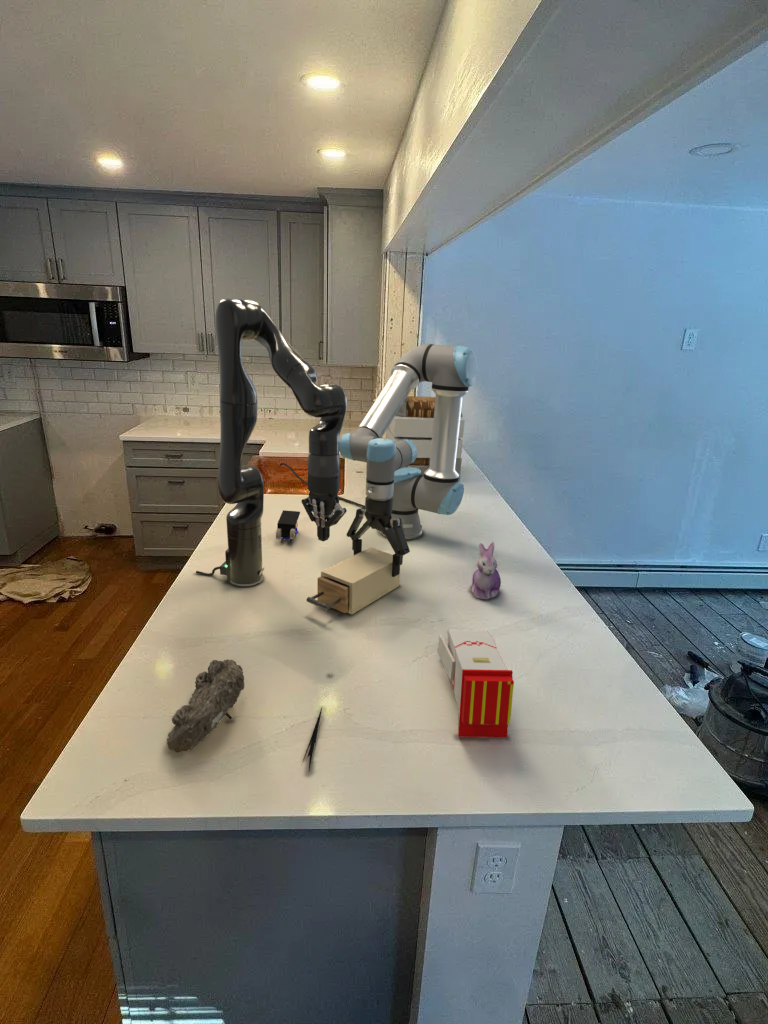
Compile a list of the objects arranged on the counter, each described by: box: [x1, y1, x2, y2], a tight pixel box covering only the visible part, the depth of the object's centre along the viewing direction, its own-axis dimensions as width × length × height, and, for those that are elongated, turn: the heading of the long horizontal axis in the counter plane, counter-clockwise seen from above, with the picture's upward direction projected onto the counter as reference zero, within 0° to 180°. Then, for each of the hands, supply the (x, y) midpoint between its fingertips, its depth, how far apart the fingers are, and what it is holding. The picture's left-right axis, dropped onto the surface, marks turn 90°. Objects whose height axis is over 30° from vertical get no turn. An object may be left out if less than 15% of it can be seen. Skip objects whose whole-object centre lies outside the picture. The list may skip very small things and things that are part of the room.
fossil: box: [166, 658, 245, 754], centre depth 106 cm, size 22×10×15 cm
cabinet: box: [320, 547, 401, 616], centre depth 156 cm, size 21×11×9 cm, turn 143°
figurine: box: [470, 541, 502, 600], centre depth 158 cm, size 9×10×15 cm
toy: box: [437, 628, 515, 738], centre depth 117 cm, size 12×13×30 cm
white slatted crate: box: [384, 395, 465, 482], centre depth 268 cm, size 34×33×41 cm
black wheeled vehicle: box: [275, 509, 301, 544], centre depth 191 cm, size 7×8×15 cm
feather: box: [301, 673, 332, 771], centre depth 108 cm, size 2×28×2 cm
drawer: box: [305, 576, 349, 614], centre depth 151 cm, size 26×10×7 cm, turn 143°
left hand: (323, 539), depth 138 cm, fingers closed
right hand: (376, 568), depth 160 cm, fingers open, 13 cm apart
